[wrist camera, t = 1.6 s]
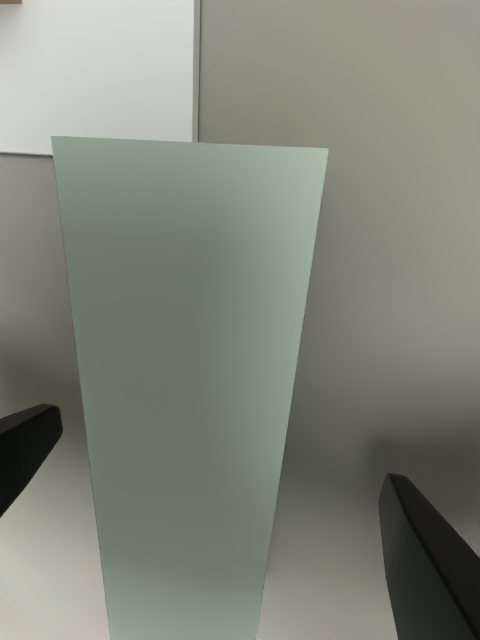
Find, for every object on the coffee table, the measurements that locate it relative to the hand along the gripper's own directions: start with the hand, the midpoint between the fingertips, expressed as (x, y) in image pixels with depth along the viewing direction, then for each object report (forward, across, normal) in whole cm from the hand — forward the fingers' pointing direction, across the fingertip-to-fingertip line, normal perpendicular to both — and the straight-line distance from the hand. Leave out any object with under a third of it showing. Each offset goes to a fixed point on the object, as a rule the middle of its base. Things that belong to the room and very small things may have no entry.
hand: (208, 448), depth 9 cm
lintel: (+2, 0, 0) cm, 2 cm away
